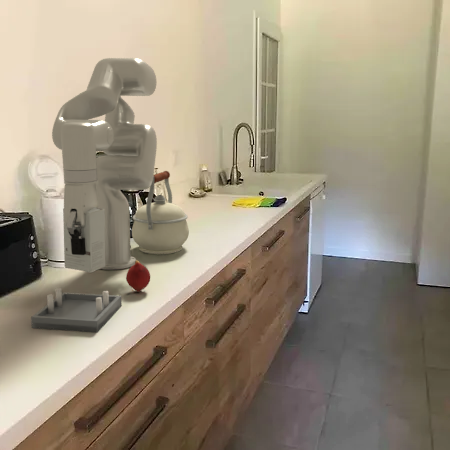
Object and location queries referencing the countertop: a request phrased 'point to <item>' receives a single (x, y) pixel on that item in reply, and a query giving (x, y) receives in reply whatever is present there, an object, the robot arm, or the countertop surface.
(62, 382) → the countertop surface
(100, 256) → the skincare box
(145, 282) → the onion
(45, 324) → the pin tray
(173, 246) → the kettle
